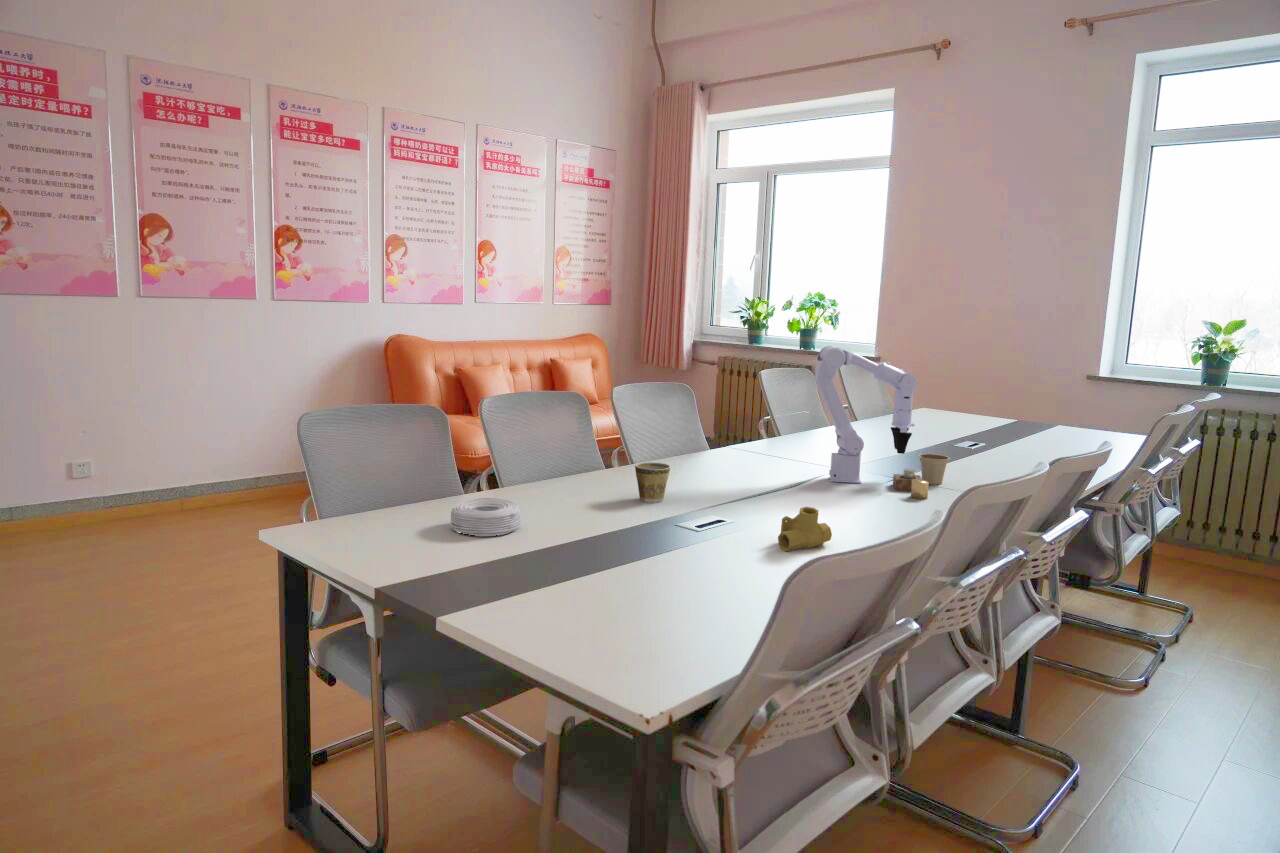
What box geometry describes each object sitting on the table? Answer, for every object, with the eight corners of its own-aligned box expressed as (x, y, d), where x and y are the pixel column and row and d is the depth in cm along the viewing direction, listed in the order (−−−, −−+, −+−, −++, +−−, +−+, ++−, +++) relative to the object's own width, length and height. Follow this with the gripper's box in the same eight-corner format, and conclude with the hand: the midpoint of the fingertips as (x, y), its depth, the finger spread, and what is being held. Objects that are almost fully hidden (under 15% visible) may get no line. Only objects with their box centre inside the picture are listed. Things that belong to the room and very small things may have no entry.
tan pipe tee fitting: (832, 550, 204) (804, 534, 213) (836, 510, 201) (808, 495, 209) (790, 560, 198) (764, 543, 207) (794, 520, 195) (767, 504, 203)
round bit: (911, 499, 254) (912, 482, 254) (909, 495, 259) (910, 479, 258) (928, 500, 254) (929, 483, 253) (926, 496, 258) (927, 480, 257)
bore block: (895, 490, 265) (896, 479, 265) (892, 484, 273) (893, 473, 272) (922, 491, 264) (923, 480, 263) (918, 486, 272) (919, 475, 271)
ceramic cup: (665, 505, 240) (666, 470, 238) (631, 502, 242) (631, 468, 240) (673, 494, 252) (674, 461, 251) (640, 492, 254) (641, 459, 252)
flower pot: (951, 486, 273) (953, 459, 271) (921, 485, 273) (923, 459, 272) (941, 479, 282) (944, 454, 281) (913, 479, 282) (915, 453, 281)
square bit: (903, 489, 267) (904, 470, 266) (902, 487, 270) (903, 468, 269) (913, 489, 267) (914, 470, 266) (912, 487, 270) (913, 469, 269)
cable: (491, 515, 225) (490, 493, 224) (536, 528, 214) (536, 505, 213) (436, 528, 212) (436, 505, 211) (481, 543, 201) (481, 518, 200)
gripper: (918, 413, 267) (915, 456, 269) (912, 407, 281) (909, 447, 283) (895, 412, 268) (892, 454, 270) (890, 406, 282) (887, 446, 284)
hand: (899, 451), depth 277 cm, fingers open, 7 cm apart
